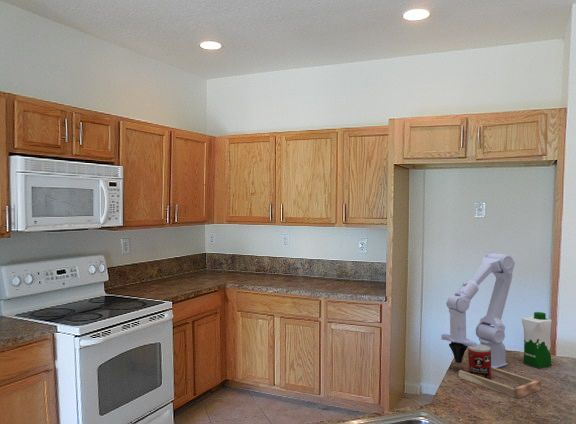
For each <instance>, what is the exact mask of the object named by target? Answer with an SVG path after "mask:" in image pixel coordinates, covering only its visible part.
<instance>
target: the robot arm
mask: <svg viewBox="0 0 576 424" xmlns="http://www.w3.org/2000/svg"><path fill="white" fill-rule="evenodd" d="M481 261H482V262H481V264H480V266H479V267H478V269H477V270H476V272H475V273H474V275H473V276H472V277H471V279H470V280H465V281H463V282H462V285H461V286H460V287H459V288H458V289H457V291H455V293H454V294H451V295H450V296H449V297H448V298H447V301H446V302H445V303H446V307H447V308H448V313H449V324H450V325H449V327H450V328H449V329H450V330H449V331H450V333H449V334H446V333H442V334H441V335H440V336H441V339H440V340H443V341H444V340H445V341H448V342H450V343H448V347H450V349H451V352H452V354H453V357H454V362H455V363H457V364H461V363H463V358H464V354H465V352H466V350H468V346H469V345H471V347H476V344H477V342H476V341H473V340H471V339H469V338H467V314H466V311H467V310H469V308H470V303H471V300H472V299H473V298H474V297H475V295H476V294H477V293H478V292H479V290H480V288H479V285H480V284H481V283H482V282H483V281H485V279H487V277H488V276H490V275H491V273H492V274H493V275H494V277H495V278H496V279H495V282H494V286H493V290H492V292H491V297H490V300H489V304H488V307H487V311H486V315H485V316H483V317H482V318H480V319H479V323H478V324H477V325H476V327H475V335H476V337H477V338H478V341H479V344H481V345H486V346H489V347H490V348H491V367H494V368H497V369H499V368H501V367H504V366H507V365H508V363H507V362H506V360H507V359H506V355H507V354H506V347H505V344H504V343H503V341H504V340H505V337H506V335H505V334H506V333H505V329H506V325H505V324H504V323H503V321H502V319H503V313H504V310H505V307H506V303H507V298H508V295H509V292H510V289H511V284H512V280H513V272H514V268H515V265H516V264H515V263H516V262H515V260H514V259H513V257H512V255H510V254H507V253H505V254H503V253H494V252H488V253H486V254H485V256H484V257H482V259H481Z"/></svg>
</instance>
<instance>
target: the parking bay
mask: <svg viewBox="0 0 576 424" xmlns="http://www.w3.org/2000/svg"><path fill="white" fill-rule="evenodd" d="M491 376H495V377H497V378H500V379H503V380H507V381H510V382H513V383H515V384H519V385H520V386H517V387H512V386H509V385H506V384H503V383H500V382H498V381H494V380H493V379H490V380H489V379H486V378H483V377H480V376H477V375H474V374H471V373H469V371H468V372H467V371H464V370H458V378H459V379H461V380H465V381H467V382H471V383H472V384H476V385H478V386H481V387H484V388H487V389H489V390H493V391H496V392H499V393H501V394H504V395H507V396H510V397H513V398H514V399H521V398H523V397H526V396H529V395H531V394H533V393H536V392H539V391H541V390H542V380H540V379H532V378H528V377H525V376H522V375H520V374H516V373H512V372H509V371H506V370H503V369H500V368H494V367H491Z"/></svg>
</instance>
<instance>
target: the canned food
mask: <svg viewBox="0 0 576 424" xmlns="http://www.w3.org/2000/svg"><path fill="white" fill-rule="evenodd" d="M467 350H468V351H467V355H468V357H467V359H468V360H467V361H468V373H471V374H474V375H477V376H480V377H483V378H486V379H489V380H492V375H491V348H490V347H489V346H486V345H481V344H480V343H478V344H477V343H476V347H471V345H469V346H468V347H467Z"/></svg>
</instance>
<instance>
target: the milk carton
mask: <svg viewBox="0 0 576 424" xmlns="http://www.w3.org/2000/svg"><path fill="white" fill-rule="evenodd" d="M546 315H547V314H546V313H545V312H540V311H535V312H533V316H525V317H523V318H521V323H522V327H523V362H522V363H523V364H524V365H528V366H530V367H533V368H537V369H539V370H540V369H543V368H548V367H552V352H551V351H552V350H551V348H552V347H551V331H552V329H551V328H552V321H553V320H552V319H549V318H546V317H547V316H546Z"/></svg>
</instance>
